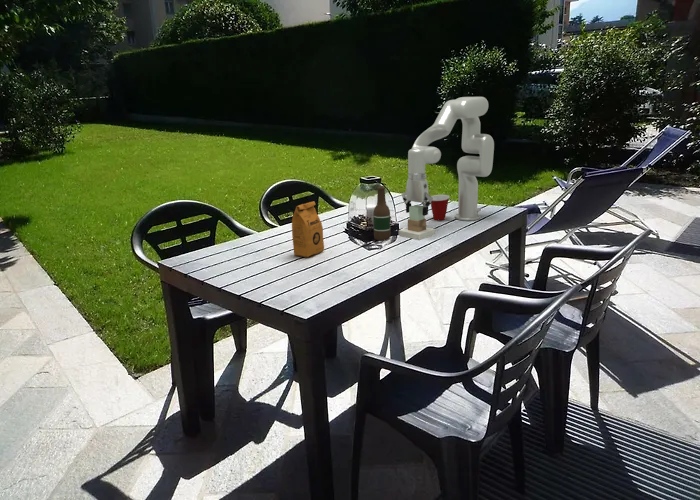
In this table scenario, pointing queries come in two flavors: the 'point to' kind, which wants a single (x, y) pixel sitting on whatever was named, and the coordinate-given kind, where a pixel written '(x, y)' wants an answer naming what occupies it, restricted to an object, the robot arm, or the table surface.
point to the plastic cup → (439, 206)
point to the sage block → (416, 213)
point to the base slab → (417, 233)
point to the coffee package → (307, 231)
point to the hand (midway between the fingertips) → (416, 213)
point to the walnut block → (416, 225)
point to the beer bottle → (381, 217)
